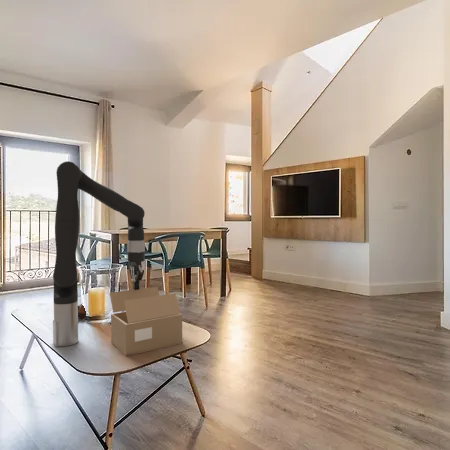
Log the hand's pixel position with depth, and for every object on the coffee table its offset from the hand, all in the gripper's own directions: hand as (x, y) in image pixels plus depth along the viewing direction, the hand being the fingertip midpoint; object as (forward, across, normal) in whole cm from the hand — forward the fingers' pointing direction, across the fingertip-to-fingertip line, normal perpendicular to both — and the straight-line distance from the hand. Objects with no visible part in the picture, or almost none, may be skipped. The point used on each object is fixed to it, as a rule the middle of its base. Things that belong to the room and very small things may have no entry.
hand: (136, 289), depth 158 cm
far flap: (+4, 0, 0) cm, 4 cm away
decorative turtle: (+21, -42, -11) cm, 48 cm away
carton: (+20, +11, 0) cm, 23 cm away
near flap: (+4, +18, 0) cm, 18 cm away
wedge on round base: (+21, -22, +1) cm, 30 cm away
